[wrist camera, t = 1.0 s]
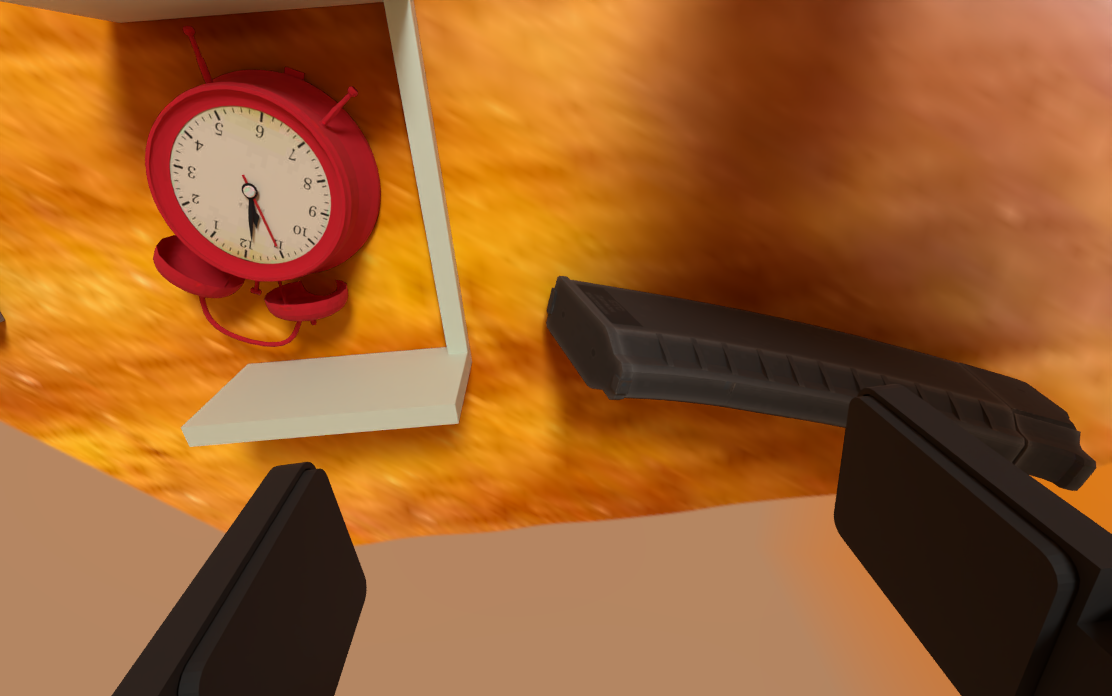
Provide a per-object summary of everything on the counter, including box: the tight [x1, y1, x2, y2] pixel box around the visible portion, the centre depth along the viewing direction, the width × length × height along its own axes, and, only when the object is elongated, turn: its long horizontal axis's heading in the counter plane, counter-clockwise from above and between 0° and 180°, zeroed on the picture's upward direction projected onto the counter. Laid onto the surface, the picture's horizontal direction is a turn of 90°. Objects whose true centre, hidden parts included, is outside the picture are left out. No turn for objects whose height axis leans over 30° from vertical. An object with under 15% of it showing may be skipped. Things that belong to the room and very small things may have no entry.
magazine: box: [546, 276, 1096, 491], centre depth 29 cm, size 17×3×30 cm
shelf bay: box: [0, 0, 472, 447], centre depth 26 cm, size 21×14×7 cm
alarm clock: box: [145, 26, 381, 347], centre depth 27 cm, size 10×6×15 cm
